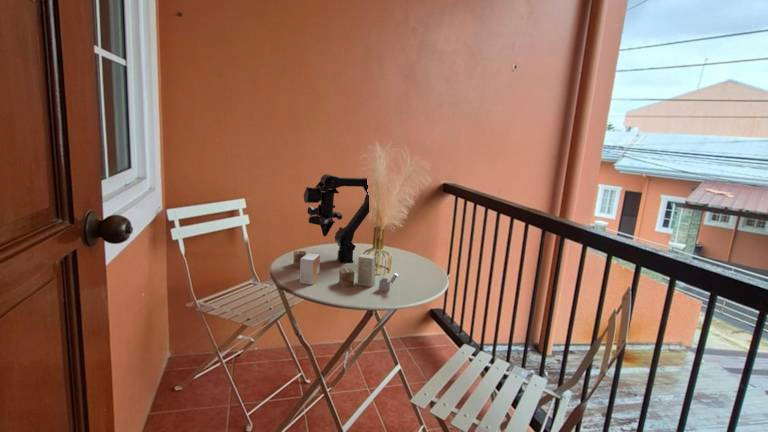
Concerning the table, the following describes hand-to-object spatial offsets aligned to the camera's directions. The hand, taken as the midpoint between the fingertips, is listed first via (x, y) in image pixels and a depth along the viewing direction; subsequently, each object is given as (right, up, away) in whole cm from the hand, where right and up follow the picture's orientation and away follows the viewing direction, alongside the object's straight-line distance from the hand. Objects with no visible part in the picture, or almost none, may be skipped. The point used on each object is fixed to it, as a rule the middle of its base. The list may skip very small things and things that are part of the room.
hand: (324, 236), depth 180 cm
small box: (-4, -18, -18) cm, 26 cm away
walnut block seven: (-11, -13, -2) cm, 17 cm away
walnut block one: (+12, -19, -19) cm, 29 cm away
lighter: (+29, -21, -23) cm, 42 cm away
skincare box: (+20, -19, -18) cm, 33 cm away
